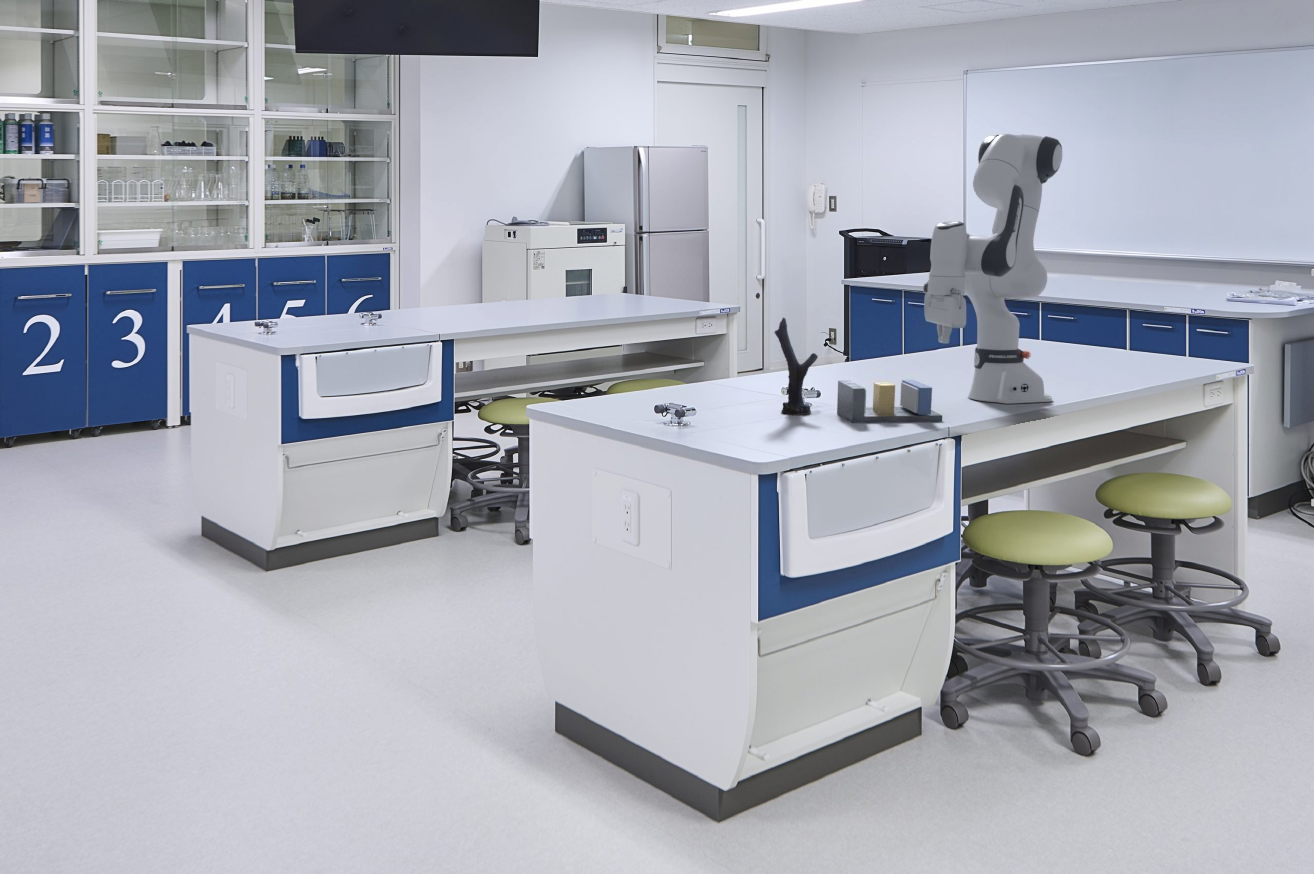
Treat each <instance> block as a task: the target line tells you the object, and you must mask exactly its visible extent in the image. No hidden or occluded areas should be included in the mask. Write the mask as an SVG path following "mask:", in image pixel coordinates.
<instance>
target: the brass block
mask: <svg viewBox="0 0 1314 874" xmlns="http://www.w3.org/2000/svg"><path fill="white" fill-rule="evenodd" d="M895 398H896V385H895V384H893V383H892V382H873V395H872V407H873V410H874V411H876V412H877V413H894V407H895V401H896V399H895Z"/></svg>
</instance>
